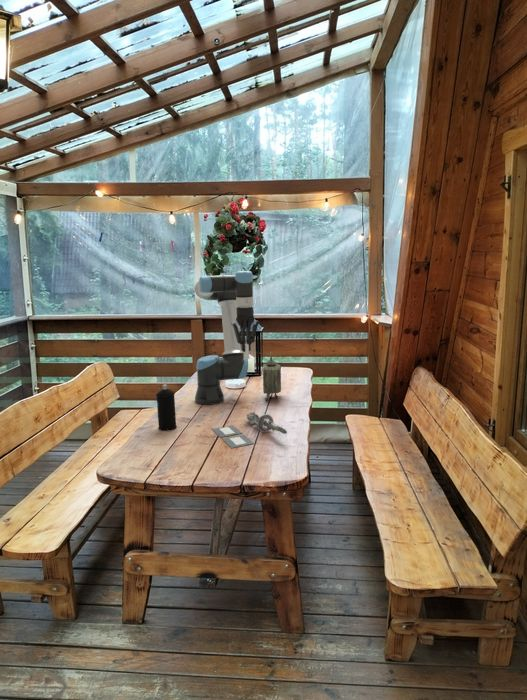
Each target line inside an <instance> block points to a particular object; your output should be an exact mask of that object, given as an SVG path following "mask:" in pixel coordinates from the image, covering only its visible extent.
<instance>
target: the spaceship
mask: <svg viewBox="0 0 527 700" xmlns="http://www.w3.org/2000/svg"><path fill="white" fill-rule="evenodd" d="M246 418H247V421H248V422H249V423H250V425H251V426H253V428H257V429H258V430H259V431H260V432H261V433H268V432H270V431H271V430H272V431H277V432H280V433H281V434H283V435H284V434H285V435H286V434H287V433H288V431H287V429H285V428H284V427H282V426H280V425H277V424H275V423H274V418H273V416H272V415H270V414H268V413H267V414H266V413H265V414H259V415H258V414H256V412H250V413H247V414H246ZM255 423H256V424H255ZM253 424H254V425H253Z"/></svg>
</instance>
